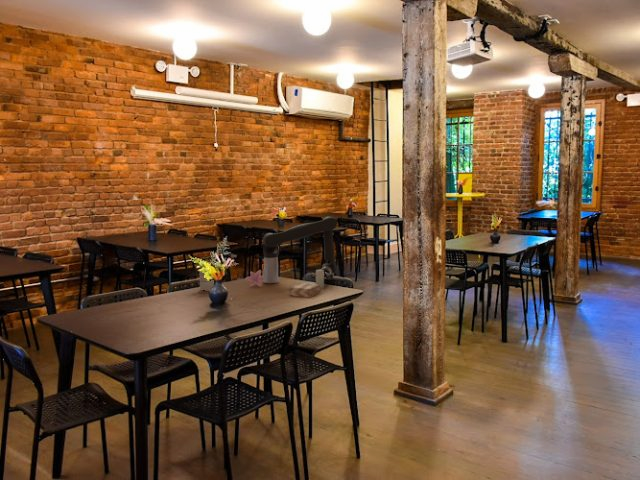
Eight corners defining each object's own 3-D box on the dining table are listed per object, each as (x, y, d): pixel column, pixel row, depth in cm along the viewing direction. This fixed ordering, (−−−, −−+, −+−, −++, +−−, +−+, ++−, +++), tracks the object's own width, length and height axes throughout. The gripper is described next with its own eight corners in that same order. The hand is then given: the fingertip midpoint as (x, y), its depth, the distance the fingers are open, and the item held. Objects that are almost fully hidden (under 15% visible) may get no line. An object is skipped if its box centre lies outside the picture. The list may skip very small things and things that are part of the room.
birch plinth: (289, 295, 356) (289, 287, 356) (300, 290, 369) (300, 283, 368) (310, 297, 350) (310, 289, 350) (320, 292, 363) (320, 284, 362)
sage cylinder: (314, 289, 373) (314, 270, 371) (318, 287, 377) (317, 269, 376) (321, 289, 371) (321, 271, 369) (325, 288, 375) (324, 269, 374)
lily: (242, 287, 388) (243, 276, 383) (252, 277, 397) (252, 266, 392) (258, 293, 385) (259, 282, 379) (267, 283, 394) (268, 272, 388)
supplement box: (211, 291, 371) (210, 265, 369) (199, 290, 375) (198, 264, 373) (220, 288, 380) (219, 262, 377) (208, 287, 384) (207, 262, 381)
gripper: (314, 267, 391) (309, 271, 375) (335, 267, 388) (331, 272, 372) (314, 278, 392) (309, 283, 376) (335, 278, 389) (331, 283, 373)
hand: (320, 277), depth 374 cm, fingers open, 8 cm apart
